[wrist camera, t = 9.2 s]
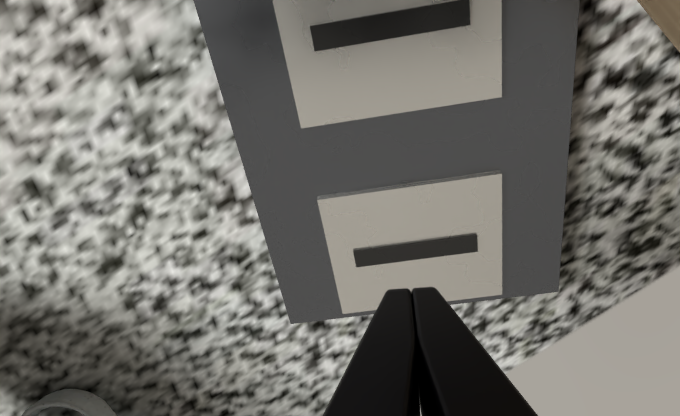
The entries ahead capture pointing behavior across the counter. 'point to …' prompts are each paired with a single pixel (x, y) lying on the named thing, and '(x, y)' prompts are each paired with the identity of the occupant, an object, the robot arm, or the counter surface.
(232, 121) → the panel
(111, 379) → the counter surface
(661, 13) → the swing bar
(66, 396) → the ceramic mug
